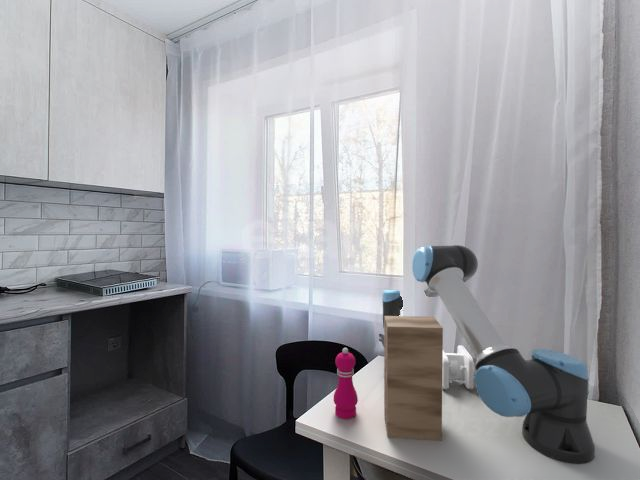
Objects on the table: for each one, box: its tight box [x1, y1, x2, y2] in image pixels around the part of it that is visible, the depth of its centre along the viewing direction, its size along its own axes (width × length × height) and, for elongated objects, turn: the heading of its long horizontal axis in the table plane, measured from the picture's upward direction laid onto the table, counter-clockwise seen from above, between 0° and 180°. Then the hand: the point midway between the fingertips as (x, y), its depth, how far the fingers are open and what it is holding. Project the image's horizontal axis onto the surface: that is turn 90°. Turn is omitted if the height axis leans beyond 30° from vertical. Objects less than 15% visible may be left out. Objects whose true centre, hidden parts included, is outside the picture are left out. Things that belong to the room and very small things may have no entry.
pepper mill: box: [333, 347, 359, 420], centre depth 99 cm, size 7×7×20 cm
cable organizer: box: [442, 345, 475, 390], centre depth 117 cm, size 15×11×12 cm
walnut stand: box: [383, 315, 444, 441], centre depth 92 cm, size 10×14×30 cm
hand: (401, 353), depth 112 cm, fingers closed on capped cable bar, 3 cm apart
